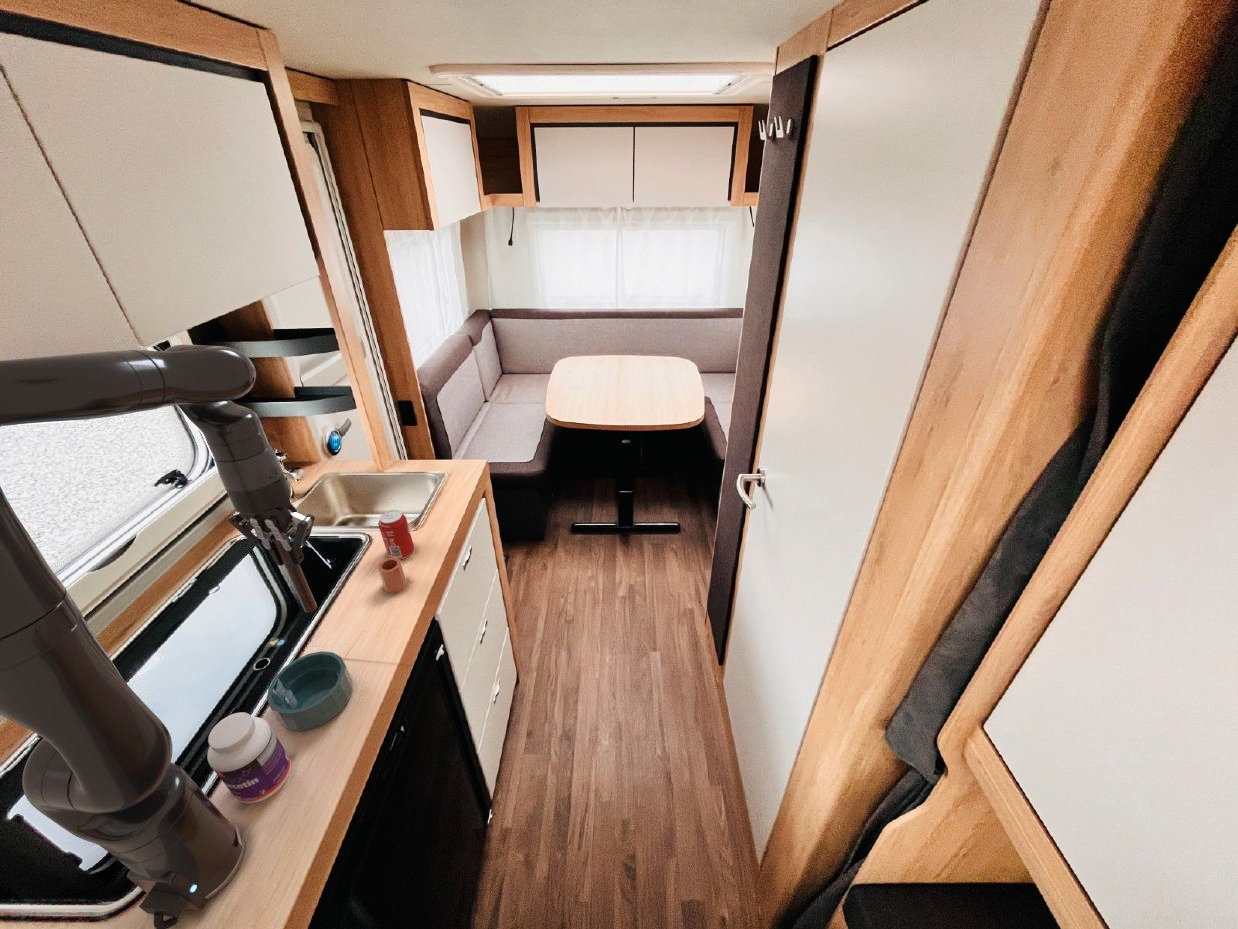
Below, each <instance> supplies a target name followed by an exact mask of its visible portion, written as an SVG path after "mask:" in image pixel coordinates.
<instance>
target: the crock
mask: <svg viewBox="0 0 1238 929" xmlns="http://www.w3.org/2000/svg"><path fill="white" fill-rule="evenodd" d="M377 571H378V573H379V576H380V580H381V582H382V585H383V588H384V591H385V592H386V593H389V594H395V593H399V592H401V591H403V590H404V589H405V588H406V587H407V585H408V582H407V577H406V574H405V571H404V568H403V564H402V561H401V559H398V558H393V557H392V558H390V557H388V558H385V559H383V560H382V561H380V562H379V563H378V565H377Z"/></svg>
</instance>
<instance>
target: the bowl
mask: <svg viewBox="0 0 1238 929" xmlns="http://www.w3.org/2000/svg"><path fill="white" fill-rule="evenodd" d="M353 683H354V682H353V679H352V676H351V674H350V672H349V670H348V667H347V666H346V663H345V661H344V660H343V658H342V656H340V655H338V654H337V653H335V652H332V651H316V652H310V653H308V654H305V655H303V656H301V657H298V658H296V659H294V660H293V661H291V662H289V663H288V664H287V665H286V666H284V667H283V668H282V669H281V670H280V671H279V672H278V673H277V674H276V675H275V676H274V678H273V679H272V681H271V682H270V685H269V687H268V689H267V694H266V701H267V703H268V705H269V708H270V710H271V711H272V713H273V714H274V716H275V717H276V719H277V720H278V722H279V724H280V725H281V726H283V727H284V728H286V729H287V730H290V731H291V730H292V731H298V732H299V731H300V732H301V731H307V730H311V729H315V728H317V727H319V726H321V725H323V724H325V723H327V722H329V721H330V720H331V719H333V718H334V717H335V716H337V714H339V713H340V712H341V711H342V710H343V708H344V707H345V706H346V705H347V704H348V703H349V700H350V698H351V695H352V692H353V686H354V684H353Z"/></svg>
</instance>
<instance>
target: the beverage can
mask: <svg viewBox="0 0 1238 929" xmlns="http://www.w3.org/2000/svg"><path fill="white" fill-rule="evenodd" d="M377 525H378V528H379V532H380V535H381V538H382V542H383V544H384V547H385V550H386V553H387V556H388V558H392V557H393V558H398V559H399V560H403V559H406V558H408V557H409V556H411V554H412V553H413V552H414V550H415V544H414V541H413V538H412V533H411V530H410V526H409V524H408V518H407V517H406V515H405V514H404V513H402V511H400V510H398V509H391V510H387V511H385V512H383V513H382V514H381V515H380V516H379V520H378V524H377Z"/></svg>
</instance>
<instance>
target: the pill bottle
mask: <svg viewBox="0 0 1238 929" xmlns="http://www.w3.org/2000/svg"><path fill="white" fill-rule="evenodd" d="M207 738H208V739H207V742H208V745H209V747H208V750H207V755H206V756H207V762H208V765H209V766H210V768H211V769H212V770H213V771H214V773H215V774H216V775H217V776H218V777H219V779H220V780H221V782H222V783H223V784H224V785H225V786H226V788H227V789H228V790H229V791H230V793H231V794H232V795H233V797H234V798H235V799H236V800H237V801H238V802H240V803H242V804H249V805H251V804H257V803H260V802H262V801H265V800H267V799H268V798H270V797H272V796H273V795H274V794H276V793H277V792H278V791H279V790H280V789H281V788H282V787H283V786H284V784H285V783H286V782H287V780H288V779H289V775H290V773H291V770H292V760H291V757H290V756H289V754H288V752H287V750H286V749H285V748H284V747H283V745H282V743H281V741H280V740H279V738H278V736H277V735H276V733H275V732H274V730H273V729H272V727H271V725H270V724H269V722H268V721H267V720H266V719H264V718H262V717H258V716H252V715H251V714H249V713H248V712H245V711H244V712H242V711H241V712H235V713H232V714H230V715H227V716H225V717H224V718H223V719H221V720H220V721H219V722H217V723H216V725H215V726H213V727H212V729H211V731H210V732H209V735H208V737H207Z"/></svg>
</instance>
